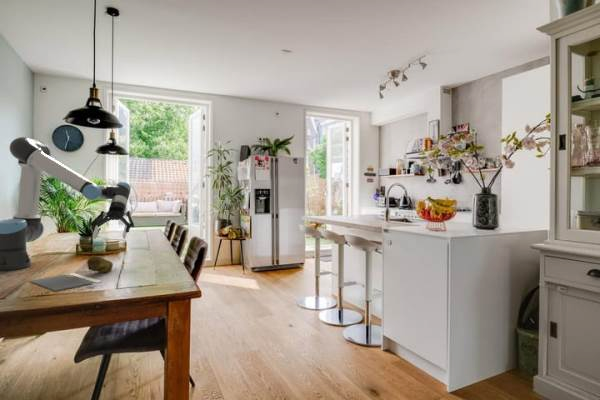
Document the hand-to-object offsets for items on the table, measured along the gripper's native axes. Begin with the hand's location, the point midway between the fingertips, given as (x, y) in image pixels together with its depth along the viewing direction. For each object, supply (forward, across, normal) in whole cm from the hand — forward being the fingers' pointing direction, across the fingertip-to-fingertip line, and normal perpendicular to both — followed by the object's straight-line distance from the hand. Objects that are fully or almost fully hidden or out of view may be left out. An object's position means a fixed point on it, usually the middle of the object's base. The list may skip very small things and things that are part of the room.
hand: (109, 237), depth 171 cm
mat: (+30, +10, +9) cm, 33 cm away
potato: (+18, 0, -3) cm, 19 cm away
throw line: (+26, +3, +4) cm, 26 cm away
